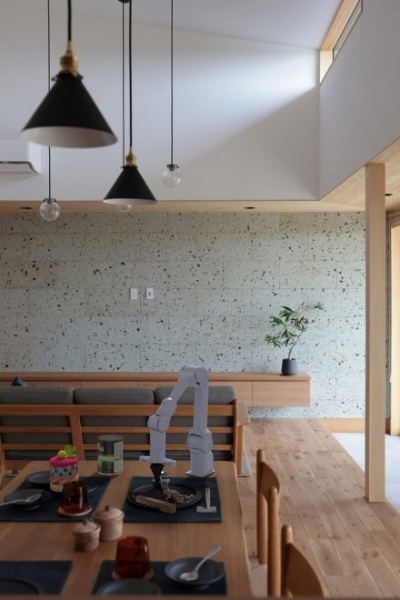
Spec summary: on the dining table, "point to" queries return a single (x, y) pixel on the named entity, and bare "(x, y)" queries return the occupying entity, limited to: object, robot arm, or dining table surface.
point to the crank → (164, 479)
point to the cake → (63, 468)
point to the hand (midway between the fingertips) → (157, 482)
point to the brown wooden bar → (157, 504)
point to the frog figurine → (176, 495)
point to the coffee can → (110, 454)
